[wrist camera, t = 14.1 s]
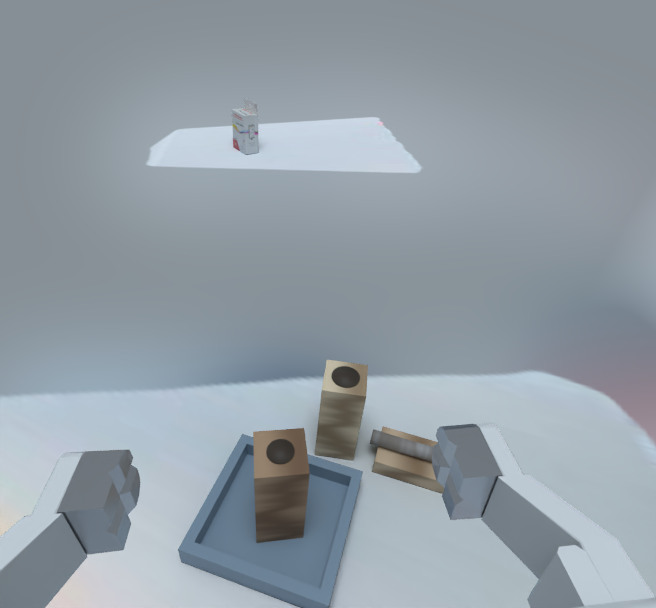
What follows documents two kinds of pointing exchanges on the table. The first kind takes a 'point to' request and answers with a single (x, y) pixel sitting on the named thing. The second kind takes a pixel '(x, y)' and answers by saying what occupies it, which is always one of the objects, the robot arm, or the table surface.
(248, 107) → the ink cartridge box
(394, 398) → the table surface
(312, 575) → the tray
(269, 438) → the walnut block
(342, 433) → the oak block
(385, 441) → the gauge rest
